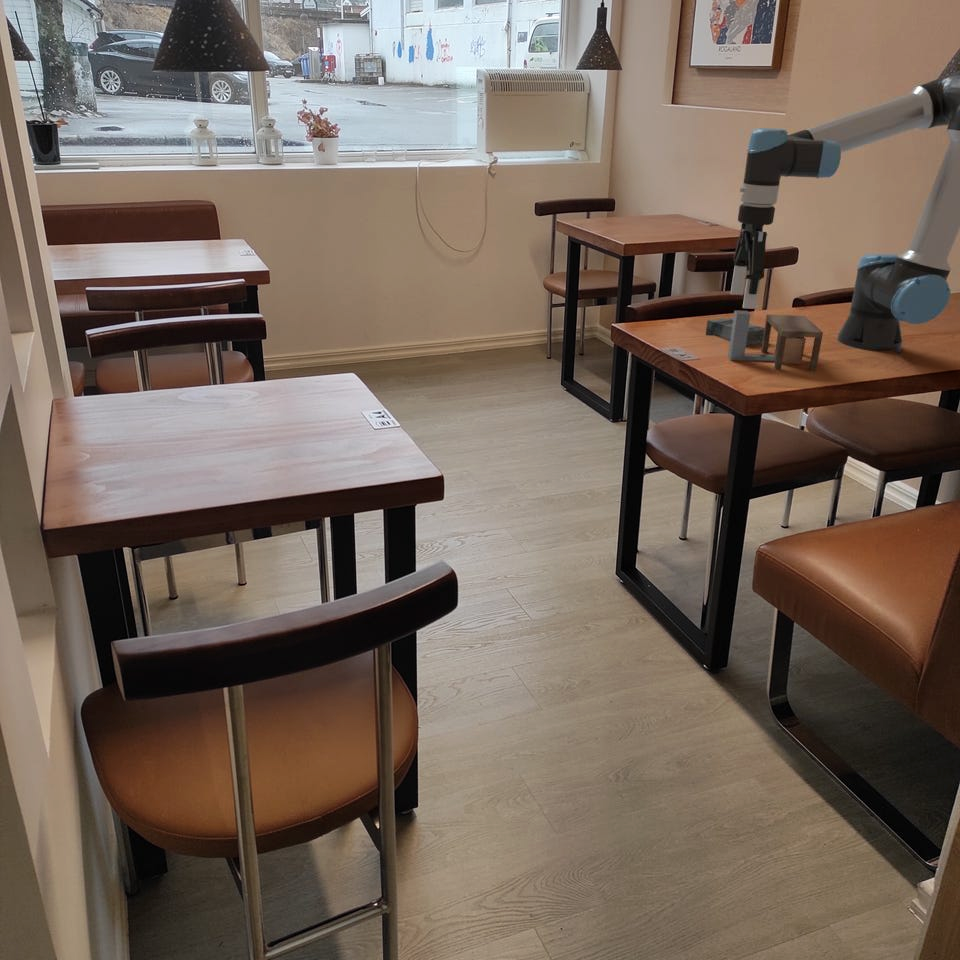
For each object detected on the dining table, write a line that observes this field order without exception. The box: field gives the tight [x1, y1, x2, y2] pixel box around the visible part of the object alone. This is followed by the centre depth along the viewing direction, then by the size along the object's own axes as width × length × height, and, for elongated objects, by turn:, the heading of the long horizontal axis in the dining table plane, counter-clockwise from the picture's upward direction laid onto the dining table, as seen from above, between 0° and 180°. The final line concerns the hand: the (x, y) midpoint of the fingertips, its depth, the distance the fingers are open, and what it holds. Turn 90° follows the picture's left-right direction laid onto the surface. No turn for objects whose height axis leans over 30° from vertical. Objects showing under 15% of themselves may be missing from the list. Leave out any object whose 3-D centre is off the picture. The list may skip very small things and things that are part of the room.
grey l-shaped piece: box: [727, 310, 807, 365], centre depth 208 cm, size 16×5×11 cm, turn 87°
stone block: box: [705, 317, 765, 347], centre depth 228 cm, size 9×14×5 cm, turn 26°
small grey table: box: [760, 314, 824, 372], centre depth 209 cm, size 9×15×10 cm, turn 177°
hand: (742, 301), depth 205 cm, fingers open, 13 cm apart
